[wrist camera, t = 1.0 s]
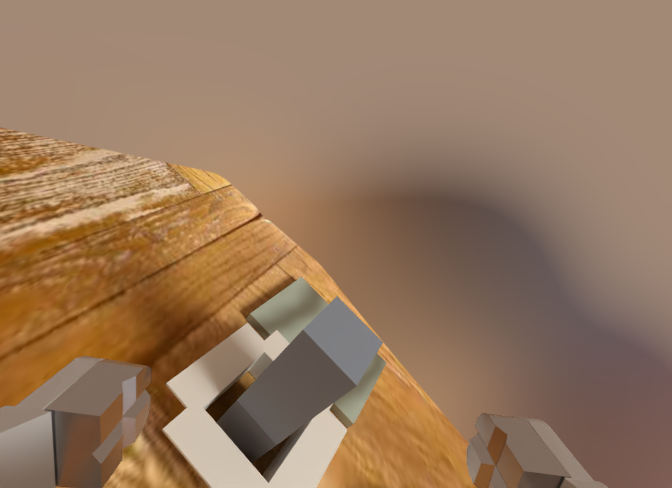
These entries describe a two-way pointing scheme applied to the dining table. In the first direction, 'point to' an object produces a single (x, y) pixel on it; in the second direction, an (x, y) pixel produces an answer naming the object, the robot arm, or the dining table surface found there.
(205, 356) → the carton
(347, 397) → the sage board
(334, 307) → the slate box
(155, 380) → the dining table surface
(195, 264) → the dining table surface
